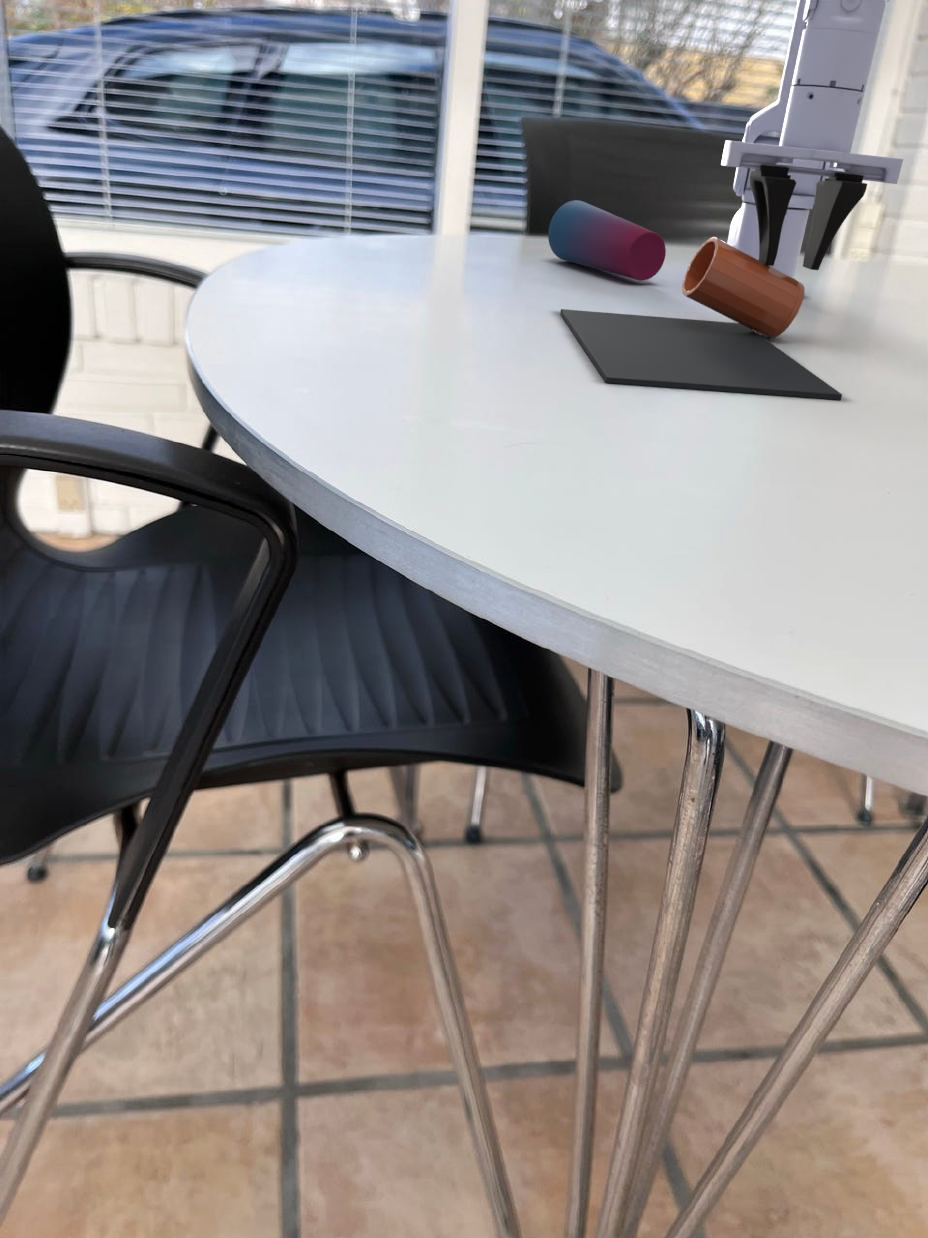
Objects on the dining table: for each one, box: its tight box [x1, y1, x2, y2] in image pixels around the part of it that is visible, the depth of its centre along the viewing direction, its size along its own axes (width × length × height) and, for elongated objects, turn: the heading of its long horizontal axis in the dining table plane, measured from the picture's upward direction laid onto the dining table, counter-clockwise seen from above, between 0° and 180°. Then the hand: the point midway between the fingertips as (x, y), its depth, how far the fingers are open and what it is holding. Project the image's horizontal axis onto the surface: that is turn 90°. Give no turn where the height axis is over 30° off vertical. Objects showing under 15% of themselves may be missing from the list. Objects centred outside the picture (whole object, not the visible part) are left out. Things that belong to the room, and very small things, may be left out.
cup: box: [547, 199, 667, 281], centre depth 115 cm, size 7×7×15 cm
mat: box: [559, 308, 843, 401], centre depth 82 cm, size 24×17×1 cm
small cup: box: [681, 236, 805, 339], centre depth 89 cm, size 5×5×9 cm
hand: (788, 266), depth 88 cm, fingers open, 3 cm apart
